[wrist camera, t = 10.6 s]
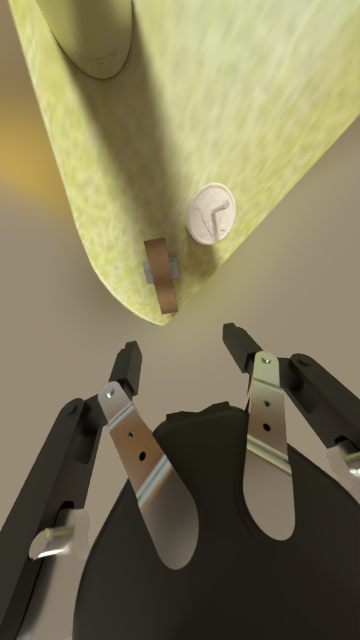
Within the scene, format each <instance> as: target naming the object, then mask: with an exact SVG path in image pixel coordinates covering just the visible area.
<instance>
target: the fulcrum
mask: <svg viewBox="0 0 360 640" xmlns="http://www.w3.org/2000/svg"><path fill="white" fill-rule="evenodd" d="M169 264H170V270H171V276H172V279H174V278H179V271H178V263H177V257H171V258H169ZM143 266H144V271H145V275H146V279H147V282H148V283H152V282H154V280H153V276H152V272H151V268H150V264H149V261H148V262H143Z"/></svg>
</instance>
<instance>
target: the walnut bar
mask: <svg viewBox="0 0 360 640" xmlns="http://www.w3.org/2000/svg"><path fill="white" fill-rule="evenodd" d="M144 244H145V248H146V252H147V256H148V260H149V264H150V268H151V272H152V276H153V280H154V284H155V288H156V292H157V296H158V300H159V304H160V308H161V312H162V314H166V313H171V312H177V305H176V299H175V293H174V288H173V282H172V276H171V270H170V264H169V258H168V253H167V247H166V241H165V238H159V239H153V240H147V241H144Z"/></svg>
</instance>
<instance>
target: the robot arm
mask: <svg viewBox="0 0 360 640" xmlns="http://www.w3.org/2000/svg"><path fill="white" fill-rule="evenodd" d="M36 2H37V4H38V6H39V8H40V10H41V11H42V13H43V15H44V17H45V19H46V21H47V23H48V25H49V27H50V29H51V30H52V32H53V34H54V36H55V37H56V39H57V41H58V43H59V44H60V46H61V47H62V49H63V50H64V51H65V53H66V54H67V56H68V57H69V58H70V59H71V60H72V61H73V62H74V63H75V64H76V65H77V66H78V67H79V68H80V69H81V70H83V71H84V72H85V73H87V74H88V75H91V76H93V77H95V78H102V79H106V78H109V77H112V76H114V75H115V74H116V73H117V72H119V71H120V69H121V68H122V66H123V65H124V63H125V61H126V58H127V55H128V52H129V49H130V43H131V38H132V4H131V0H36ZM223 342H224V344H225V345H226V347H227V349H228V350H229V352H230V354H231V355H232V357H233V359H234V360H235V362H236V364H237V365H238V367H239V368H240V370H241V372H242V373H248V374H249V380H248V386H247V393H246V400H245V404H244V409H241V408H238V407H235V406H230V405H229V402H228V401H227V402H222V403H217V404H213V405H211V406H210V407H208V408H206V409H204V410H202V411H201V412H198V413H195V412H184V411H181V412H177V413H171V414H167V415H166V420H165V421H163V422H162V423H161V424H160V425H159V426H158V427H157V428H156V429H155V430H154V431H153V432H152V431H151V430H150V428H149V426H148V425H147V424H146V422H145V421H144V419H143V418H142V416H141V415H140V413H139V412H138V410H137V409H136V407H135V406H134V404H133V403H132V397H133V396H135V395H138V387H139V379H140V371H141V363H142V354H141V351H140V349H139V346H138V344H137V342H136V341H132V342H127V343H126V346H125V349H122V350H121V351H120V352H119V353H118V354H117V358H116V361H115V363H114V367H113V370H112V373H111V376H110V379H109V382H108V383H107V384H106V385H105V386H103V387H102V388H101V390H100V391H99V393H98V394H97V395H95V396H93V397H91V398H89V399H87V400H85V401H84V400H83V399H81V398H76V399H74V400H72V401H70V402H69V403H67V404H66V405H65V406H64V407H63V408H62V409H61V411H60V413H59V414H58V417H57V418H56V421H55V423H54V425H53V426H52V429H51V431H50V433H49V435H48V437H47V439H46V441H45V443H44V445H43V447H42V449H41V451H40V453H39V455H38V457H37V459H36V461H35V463H34V465H33V467H32V469H31V471H30V473H29V475H28V477H27V479H26V481H25V483H24V485H23V487H22V489H21V491H20V493H19V495H18V497H17V499H16V501H15V503H14V506H13V507H12V509H11V511H10V513H9V515H8V517H7V519H6V521H5V523H4V525H3V527H2V529H1V531H0V640H63V639H65V638H67V637H70V636H72V640H360V399H359V398H358V397H356V396H355V395H354V394H353V393H352V392H351V391H349V390H348V389H347V388H346V387H345V386H344V385H343V384H341V383H340V382H339V381H338V380H337V379H336V378H335V377H333V376H332V375H331V374H330V373H329V372H327V370H325V369H324V368H323V367H322V366H321V365H320V364H318V363H317V362H316V361H315V360H314V359H312V358H311V357H309V356H307V355H304V354H293V355H292V356H291V358H278V357H276V356H274V355H273V354H271V353H269V352H266V351H263V350H262V349H261V347H260V346H259V345H258V344H257V343H256V342H255V341H254V340H253V339H252V338H251V336H250V335H248V333H247V332H246V331H245V330H244V329H242V328H240V327H236V326H235V325H234V323H227V324H224V326H223ZM282 388H283V389H284V391H285V392H286V393H287V395H288V396H289V397H290V399H291V400H292V401H293V403H294V404H295V406H296V407H297V408H298V410H299V411H300V412H301V414H302V415H303V416H304V418H305V419H306V421H307V422H308V423H309V425H310V426H311V427H312V429H313V430H314V431H315V433H316V434H317V436H318V437H319V438H320V440H321V441H322V442H323V444H324V445H325V446H326V448H327V449H328V451H327V457H328V460H329V462H330V466H331V469H332V470H333V472H334V473H335V474H336V475H337V478H338V481H336V480H335V479H334V478H332V477H331V476H330V475H328V474H327V473H326V472H325V471H323V470H322V469H321V468H320V467H318V466H317V465H316V464H314V463H313V462H312V461H310V460H309V459H308V458H307V457H305V456H304V455H303V454H301V453H300V452H299V451H298V450H296V449H295V448H294V447H292V446H291V445H290V444H288V443H287V439H286V423H285V409H284V392H283V389H282ZM309 388H310V389H309ZM108 423H109V425H108V430H109V433H110V435H111V437H112V439H113V442H114V444H115V447H116V449H117V451H118V454H119V456H120V458H121V461H122V463H123V466H124V468H125V470H126V472H127V475H128V479H127V481H126V483H125V485H124V487H123V489H122V490H121V492H120V494H119V496H118V498H117V500H116V502H115V504H114V506H113V507H112V509H111V511H110V513H109V515H108V517H107V519H106V521H105V522H104V525H103V526H102V528H101V530H100V532H99V534H98V536H97V538H96V539H95V542H94V544H93V546H92V548H91V550H90V548H89V544H88V531H89V516H88V513H87V511H86V510H85V509H84V505H85V501H86V497H87V492H88V488H89V484H90V479H91V475H92V471H93V466H94V462H95V458H96V453H97V450H98V445H99V441H100V437H101V433H102V428H103V426H105V425H107V424H108Z"/></svg>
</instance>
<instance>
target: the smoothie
mask: <svg viewBox="0 0 360 640" xmlns="http://www.w3.org/2000/svg"><path fill="white" fill-rule="evenodd" d="M235 215H236V205H235V200H234V197H233V195H232V193H231V192H230V190H229V189H228V188H227V187H226V186H224V185H222V184H220V183H210V184H207V185H205V186H204V187H202V188H201V189H200V190H199V191H197V192H196V194H195V195H194V196H193V198H192V199H191V202H190V204H189V207H188V212H187V218H186V228H187V230H188V231H189V232H190V234H191V236H192V237H193V238H194V239H195V240H196V241H197V242H199V243H200V244H204V245H213V244H216V243H218V242H220V241H222V240H223V239H224V238H225V237H226V236H227V235H228V233H229V232H230V230H231V228H232V226H233V224H234V220H235Z"/></svg>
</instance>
